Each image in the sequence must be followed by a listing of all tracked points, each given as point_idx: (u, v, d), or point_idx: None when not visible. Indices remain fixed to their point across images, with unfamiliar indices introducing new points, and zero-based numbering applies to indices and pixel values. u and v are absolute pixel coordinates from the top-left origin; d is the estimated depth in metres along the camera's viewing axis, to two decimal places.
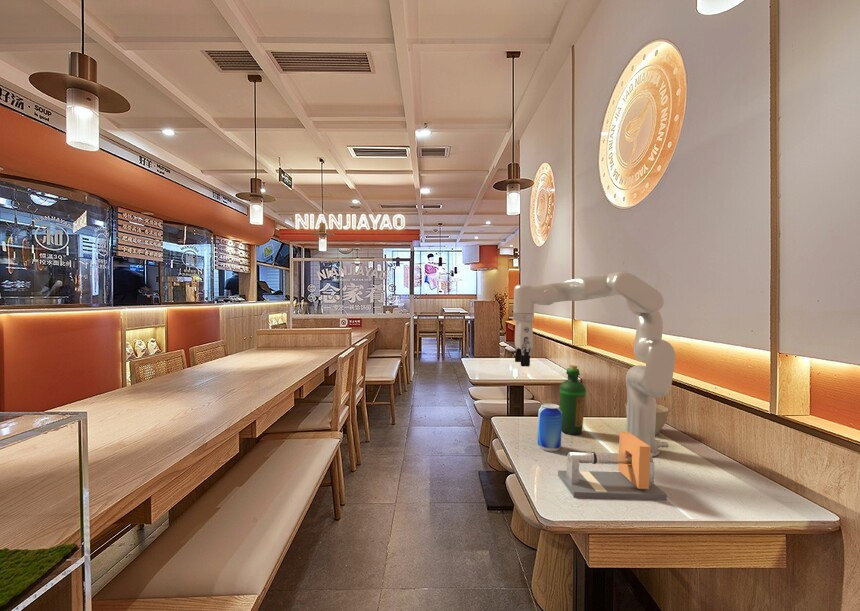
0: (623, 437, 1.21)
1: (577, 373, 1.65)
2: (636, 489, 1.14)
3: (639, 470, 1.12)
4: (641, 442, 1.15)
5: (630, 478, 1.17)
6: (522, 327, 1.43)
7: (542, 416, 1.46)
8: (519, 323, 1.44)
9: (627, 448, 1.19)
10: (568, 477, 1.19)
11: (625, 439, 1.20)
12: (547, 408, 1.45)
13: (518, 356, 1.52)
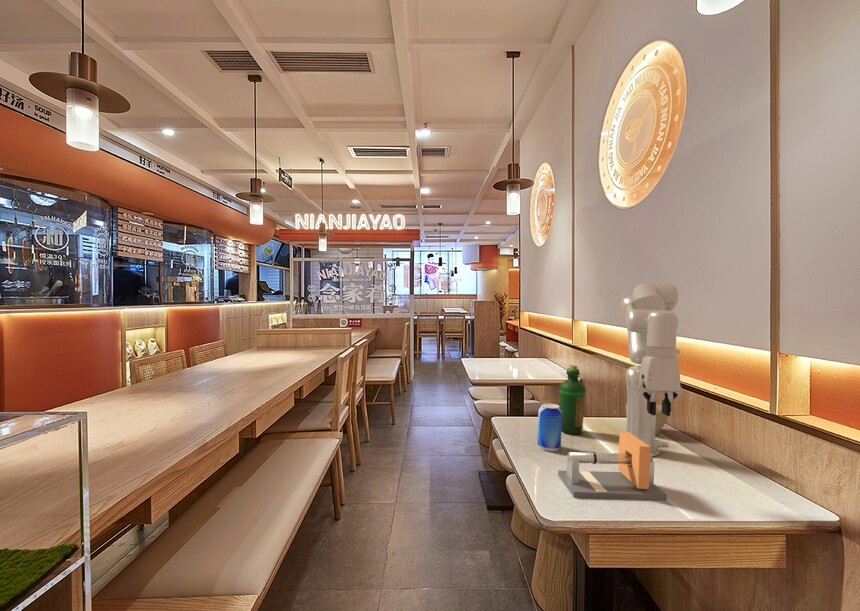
0: (623, 437, 1.21)
1: (577, 373, 1.65)
2: (636, 489, 1.14)
3: (639, 470, 1.12)
4: (641, 442, 1.15)
5: (630, 478, 1.17)
6: None
7: (542, 416, 1.46)
8: (675, 360, 1.15)
9: (627, 448, 1.19)
10: (568, 477, 1.19)
11: (625, 439, 1.20)
12: (547, 408, 1.45)
13: None
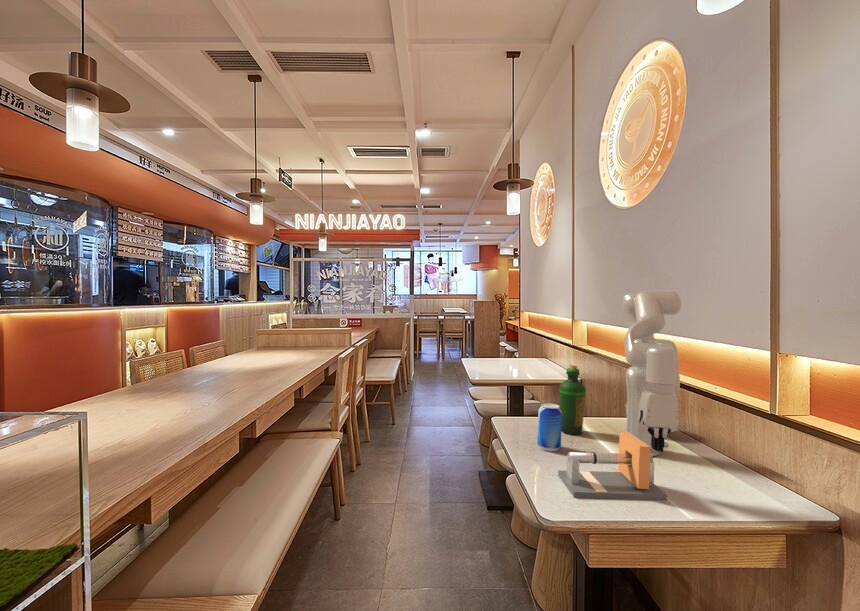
0: (623, 437, 1.21)
1: (577, 373, 1.65)
2: (636, 489, 1.14)
3: (639, 470, 1.12)
4: (641, 442, 1.15)
5: (630, 478, 1.17)
6: None
7: (542, 416, 1.46)
8: (674, 396, 1.16)
9: (627, 448, 1.19)
10: (568, 477, 1.19)
11: (625, 439, 1.20)
12: (547, 408, 1.45)
13: None
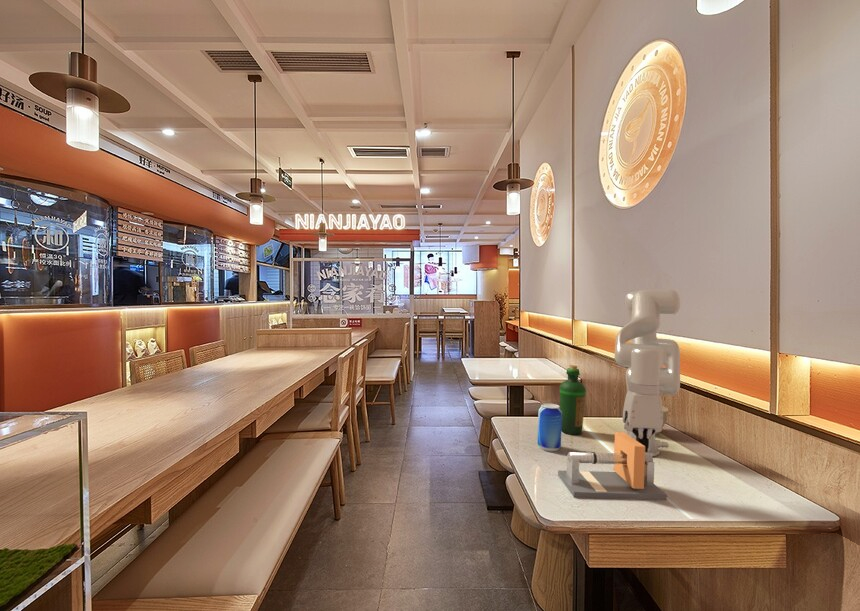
0: (618, 436, 1.21)
1: (577, 373, 1.65)
2: (636, 489, 1.14)
3: (634, 470, 1.12)
4: (636, 442, 1.15)
5: (625, 478, 1.17)
6: None
7: (542, 416, 1.46)
8: (658, 397, 1.16)
9: (622, 448, 1.19)
10: (568, 477, 1.19)
11: (620, 439, 1.20)
12: (547, 408, 1.45)
13: None
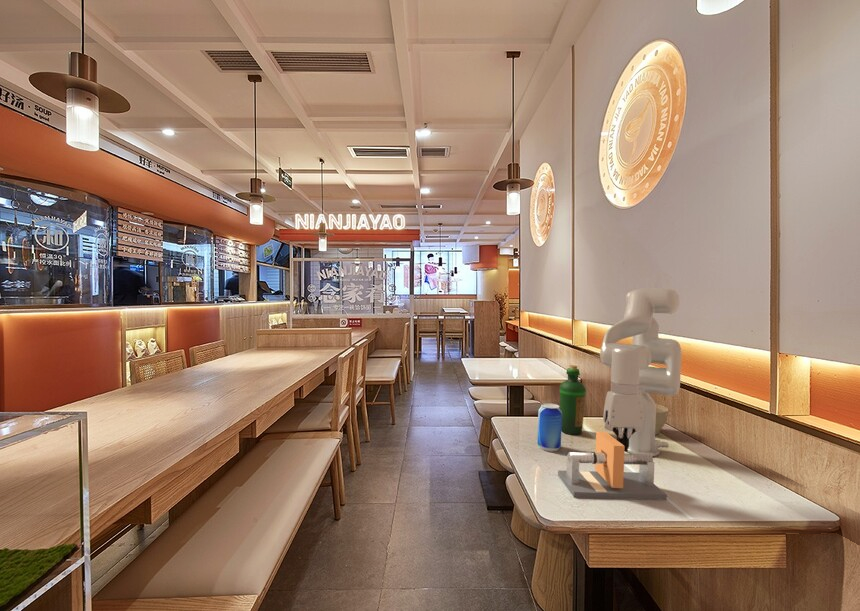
0: (599, 436, 1.21)
1: (577, 373, 1.65)
2: (636, 489, 1.14)
3: (614, 470, 1.12)
4: (616, 441, 1.15)
5: (605, 477, 1.17)
6: (641, 400, 1.17)
7: (542, 416, 1.46)
8: (638, 396, 1.16)
9: (603, 447, 1.19)
10: (568, 477, 1.19)
11: (601, 439, 1.20)
12: (547, 408, 1.45)
13: None
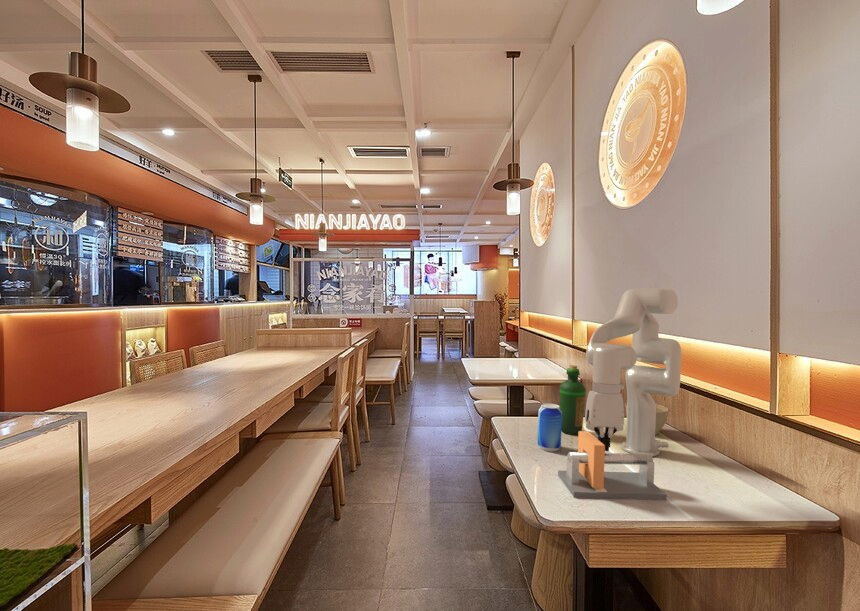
0: (581, 435, 1.22)
1: (577, 373, 1.65)
2: (636, 489, 1.14)
3: (594, 469, 1.12)
4: (597, 441, 1.15)
5: (586, 477, 1.17)
6: (622, 400, 1.17)
7: (542, 416, 1.46)
8: (619, 396, 1.16)
9: (584, 447, 1.19)
10: (568, 477, 1.19)
11: (583, 438, 1.20)
12: (547, 408, 1.45)
13: None
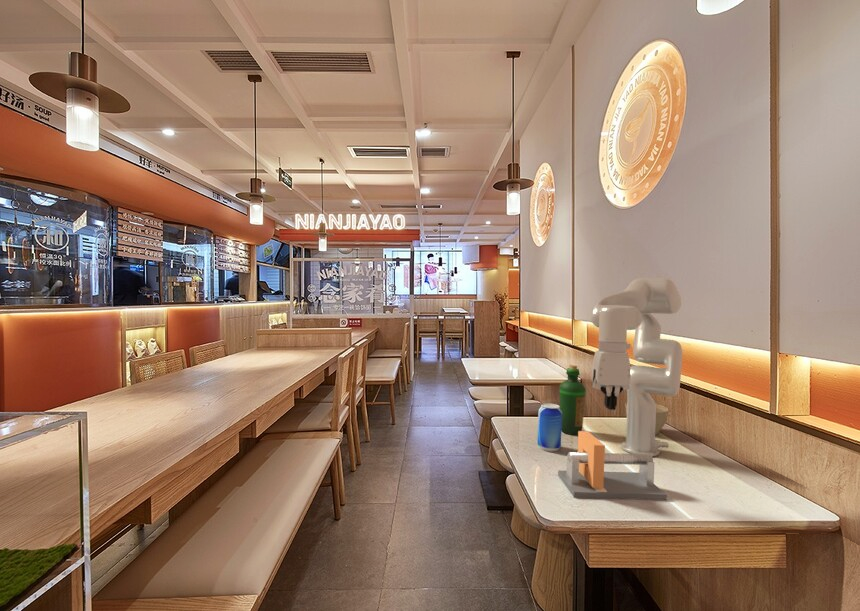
0: (581, 435, 1.22)
1: (577, 373, 1.65)
2: (636, 489, 1.14)
3: (594, 469, 1.12)
4: (597, 441, 1.15)
5: (586, 477, 1.17)
6: None
7: (542, 416, 1.46)
8: (626, 354, 1.16)
9: (584, 447, 1.19)
10: (568, 477, 1.19)
11: (583, 438, 1.20)
12: (547, 408, 1.45)
13: None
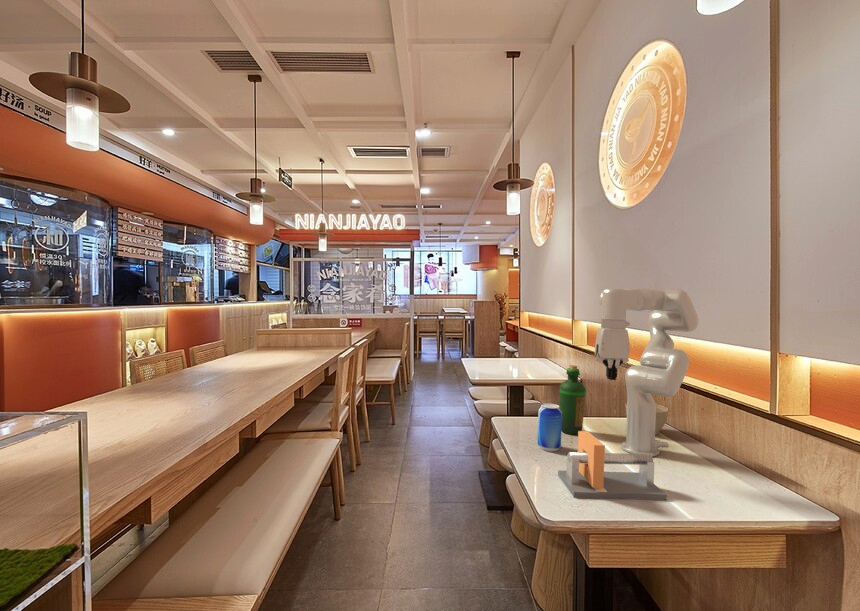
0: (581, 435, 1.22)
1: (577, 373, 1.65)
2: (636, 489, 1.14)
3: (594, 469, 1.12)
4: (597, 441, 1.15)
5: (586, 477, 1.17)
6: None
7: (542, 416, 1.46)
8: (625, 331, 1.31)
9: (584, 447, 1.19)
10: (568, 477, 1.19)
11: (583, 438, 1.20)
12: (547, 408, 1.45)
13: None
